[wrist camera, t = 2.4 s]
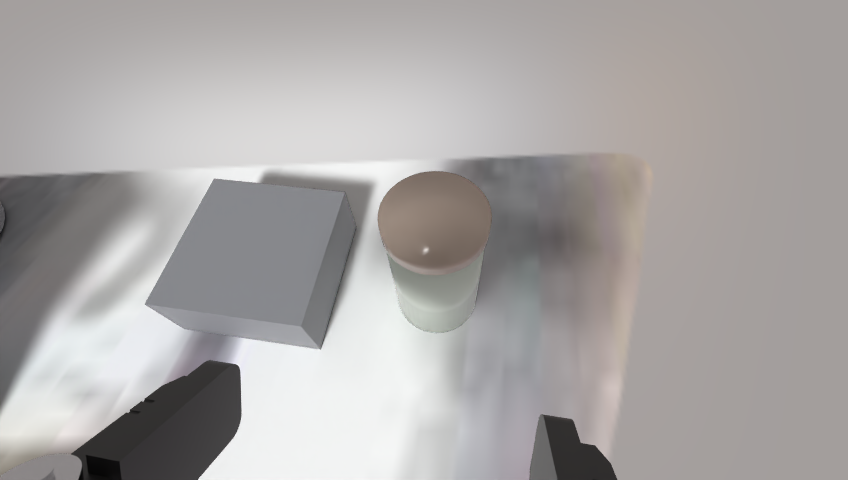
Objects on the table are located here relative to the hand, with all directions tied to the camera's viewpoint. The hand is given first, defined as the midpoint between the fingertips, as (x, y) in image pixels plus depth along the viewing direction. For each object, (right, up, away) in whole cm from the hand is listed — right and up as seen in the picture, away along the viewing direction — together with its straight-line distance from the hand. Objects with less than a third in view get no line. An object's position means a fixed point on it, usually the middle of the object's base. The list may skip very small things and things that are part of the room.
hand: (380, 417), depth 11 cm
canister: (+2, +1, +16) cm, 16 cm away
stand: (-9, +2, +17) cm, 19 cm away
